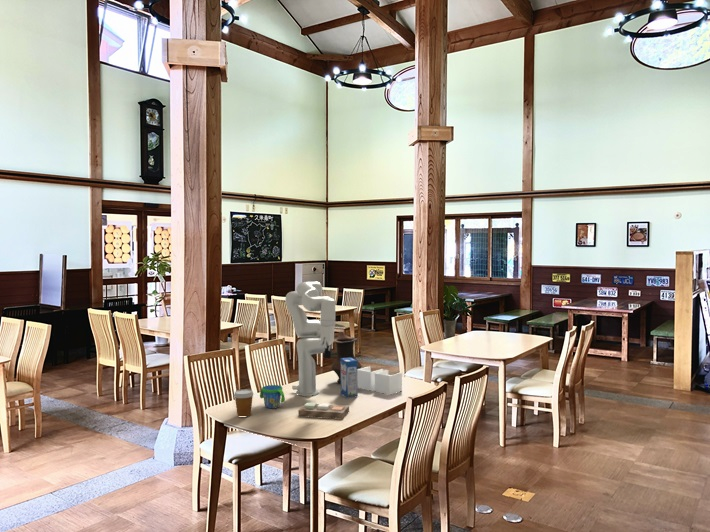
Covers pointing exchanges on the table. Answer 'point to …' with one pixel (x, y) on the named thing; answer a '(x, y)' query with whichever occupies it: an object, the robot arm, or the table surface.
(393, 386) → the storage container
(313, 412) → the tray
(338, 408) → the terracotta button
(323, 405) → the cream button
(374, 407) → the table surface
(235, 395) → the disposable coffee cup
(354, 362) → the milk carton
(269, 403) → the snack cup
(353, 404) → the table surface
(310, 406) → the sage button
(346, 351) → the jug
